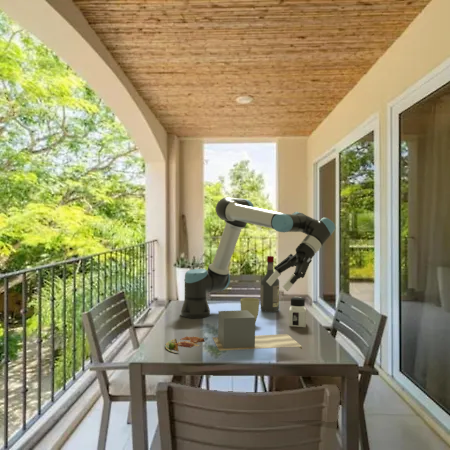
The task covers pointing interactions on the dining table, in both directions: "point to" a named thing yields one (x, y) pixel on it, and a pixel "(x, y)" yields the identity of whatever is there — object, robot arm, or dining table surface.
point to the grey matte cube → (236, 329)
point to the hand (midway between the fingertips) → (276, 286)
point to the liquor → (269, 290)
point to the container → (297, 312)
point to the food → (183, 343)
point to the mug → (250, 306)
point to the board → (265, 342)
